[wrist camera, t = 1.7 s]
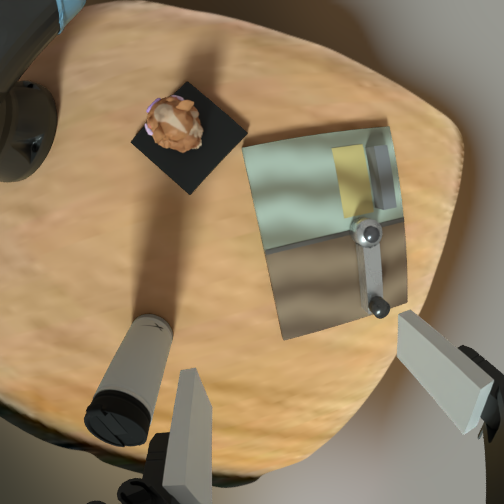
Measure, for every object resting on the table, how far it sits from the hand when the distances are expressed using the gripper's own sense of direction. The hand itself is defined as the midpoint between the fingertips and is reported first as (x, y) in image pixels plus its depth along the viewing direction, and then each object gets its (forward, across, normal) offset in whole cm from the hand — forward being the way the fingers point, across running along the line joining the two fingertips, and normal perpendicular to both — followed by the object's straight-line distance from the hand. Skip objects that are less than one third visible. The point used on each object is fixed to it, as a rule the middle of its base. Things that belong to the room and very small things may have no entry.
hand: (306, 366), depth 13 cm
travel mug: (+26, -17, -9) cm, 32 cm away
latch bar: (+24, +14, -6) cm, 28 cm away
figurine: (+26, -5, +15) cm, 30 cm away
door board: (+26, +11, -1) cm, 28 cm away
